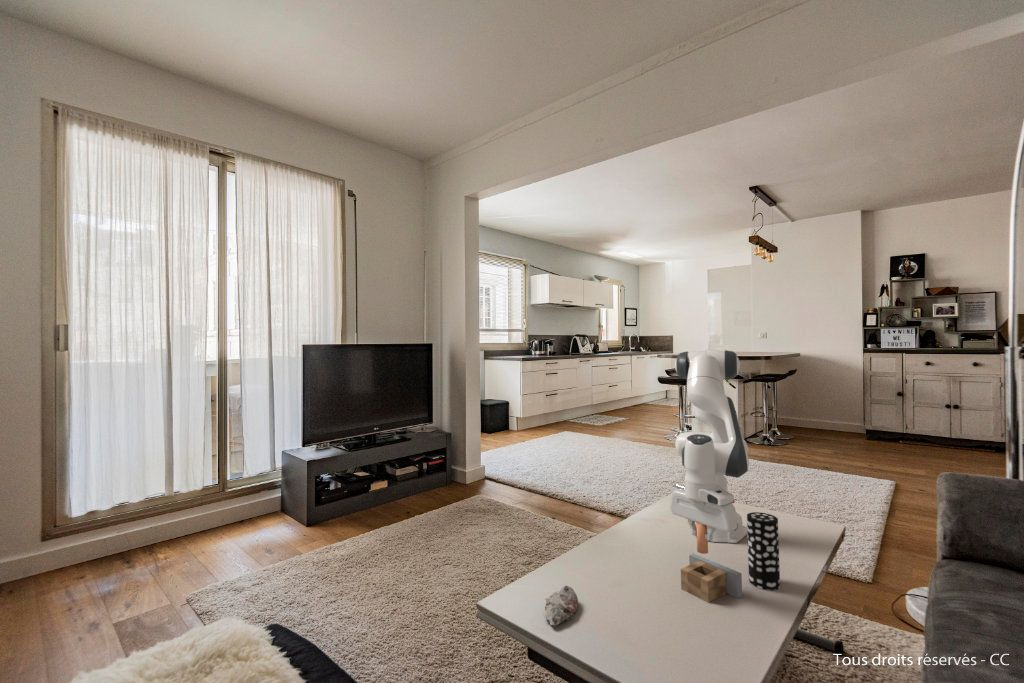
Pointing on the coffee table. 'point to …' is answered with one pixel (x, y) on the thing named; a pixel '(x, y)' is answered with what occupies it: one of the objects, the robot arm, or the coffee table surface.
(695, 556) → the slab
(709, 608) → the coffee table surface
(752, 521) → the white-spotted black cylinder
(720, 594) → the block
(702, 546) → the orange rounded capsule
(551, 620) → the mineral rock
